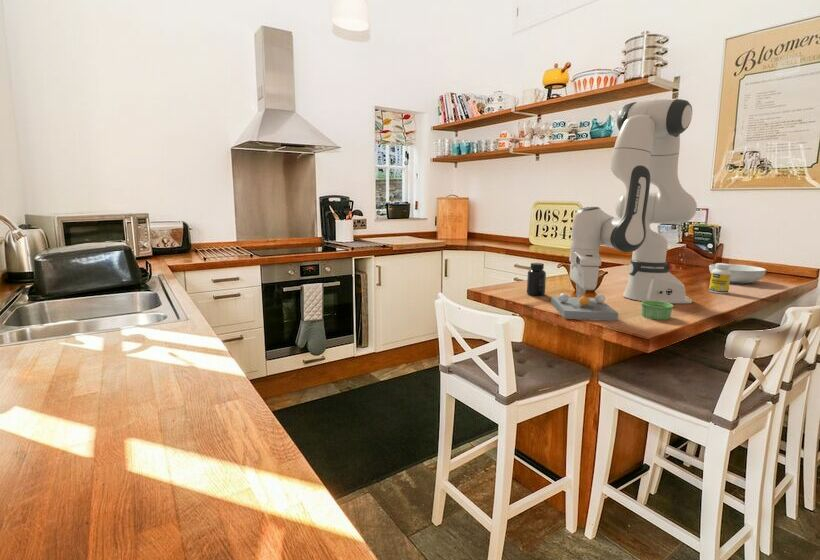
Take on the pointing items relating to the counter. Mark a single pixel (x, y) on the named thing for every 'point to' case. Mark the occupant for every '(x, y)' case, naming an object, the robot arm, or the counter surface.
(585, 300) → the ball
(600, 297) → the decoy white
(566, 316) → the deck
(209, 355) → the counter surface
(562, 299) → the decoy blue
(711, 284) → the pill bottle
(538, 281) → the supplement bottle
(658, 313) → the ramekin
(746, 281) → the serving bowl
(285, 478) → the counter surface
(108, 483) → the counter surface
